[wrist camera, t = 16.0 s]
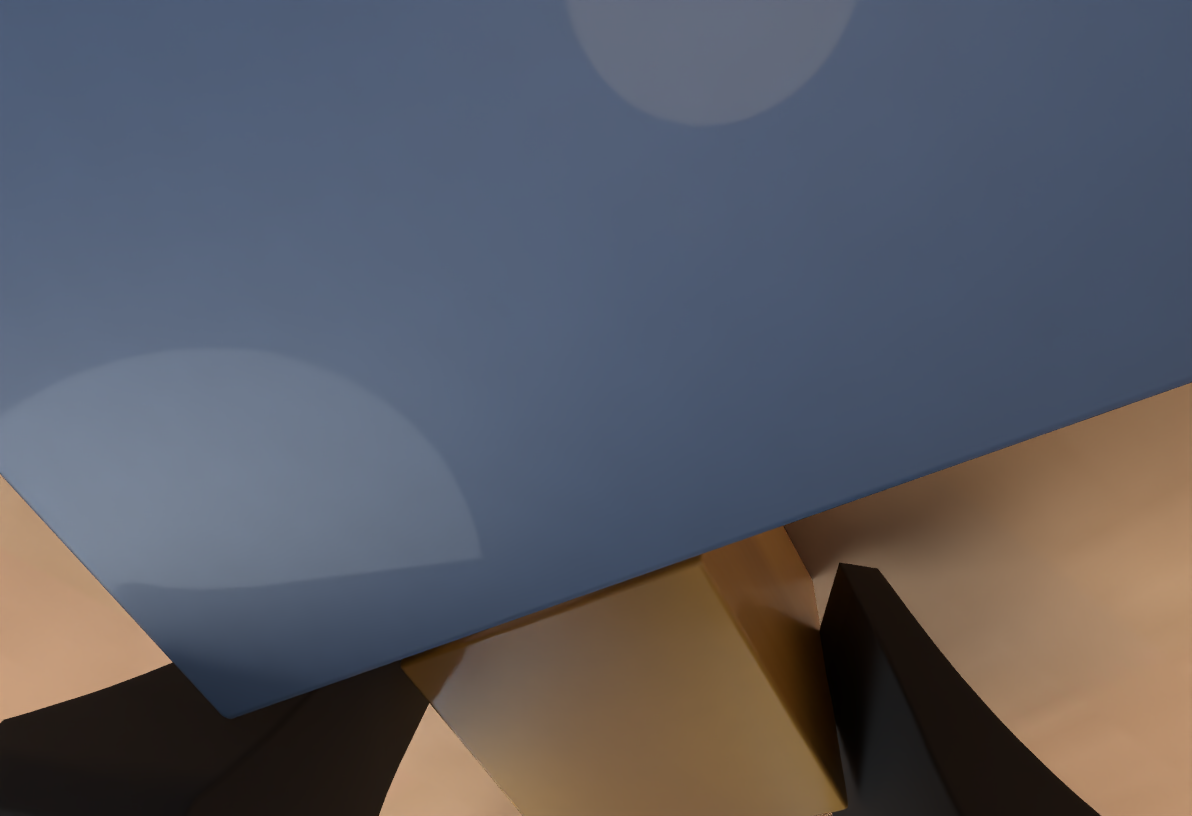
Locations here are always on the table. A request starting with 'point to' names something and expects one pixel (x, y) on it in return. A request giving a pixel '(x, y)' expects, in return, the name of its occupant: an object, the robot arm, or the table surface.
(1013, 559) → the table surface
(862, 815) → the robot arm
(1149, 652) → the table surface
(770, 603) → the block
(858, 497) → the lid
